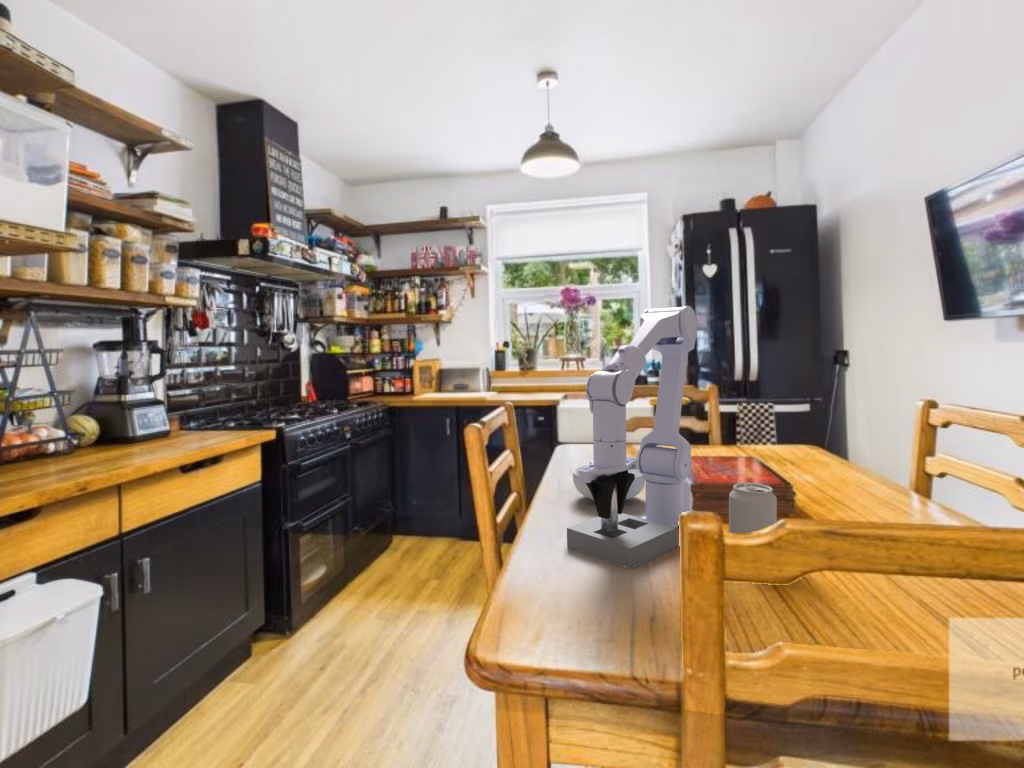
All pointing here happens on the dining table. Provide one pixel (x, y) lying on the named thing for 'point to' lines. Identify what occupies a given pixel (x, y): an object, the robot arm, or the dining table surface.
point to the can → (751, 507)
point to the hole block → (623, 539)
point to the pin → (611, 515)
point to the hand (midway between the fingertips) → (610, 515)
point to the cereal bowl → (633, 491)
